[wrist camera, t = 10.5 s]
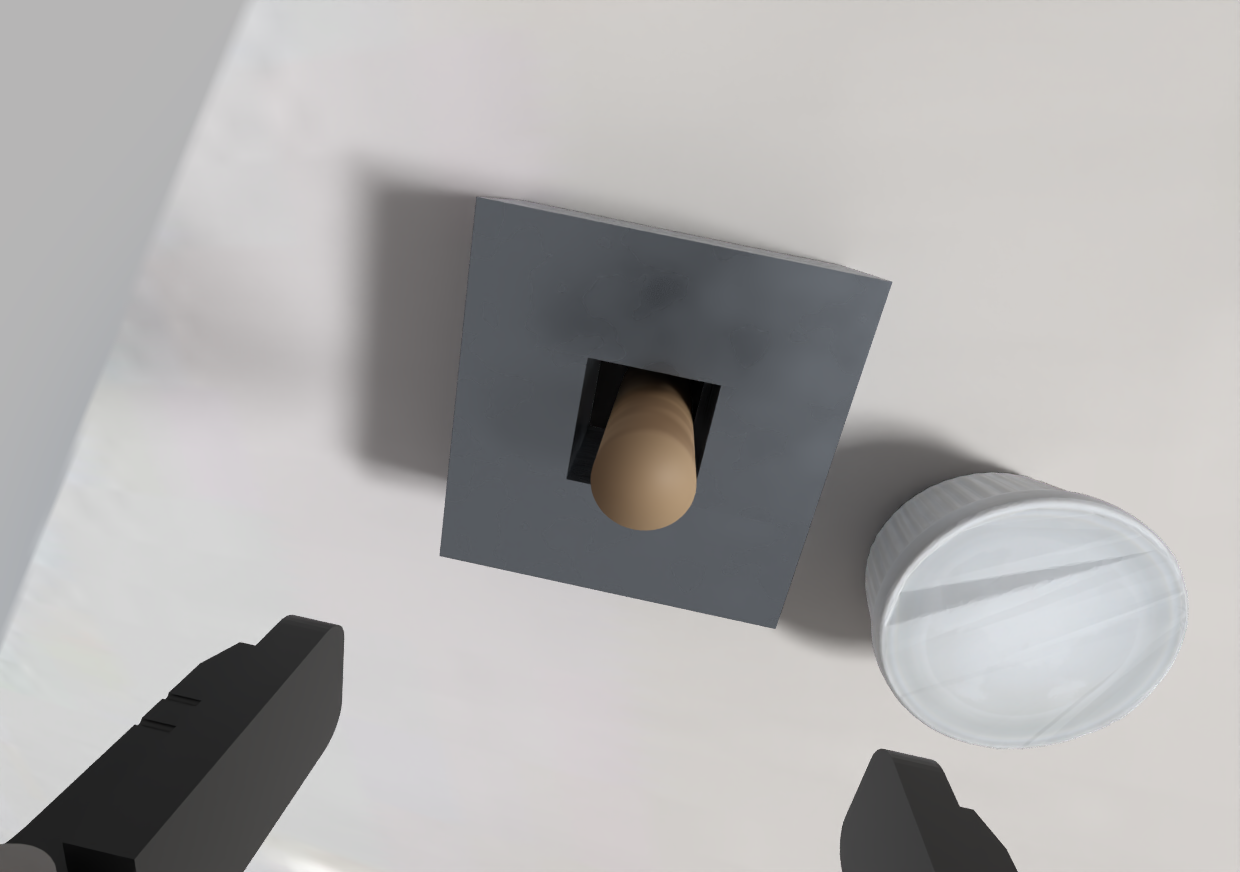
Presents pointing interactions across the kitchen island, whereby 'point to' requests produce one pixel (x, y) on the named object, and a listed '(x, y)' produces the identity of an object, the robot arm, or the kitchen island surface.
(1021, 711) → the ramekin
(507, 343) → the hole block
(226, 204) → the kitchen island surface
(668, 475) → the walnut peg
